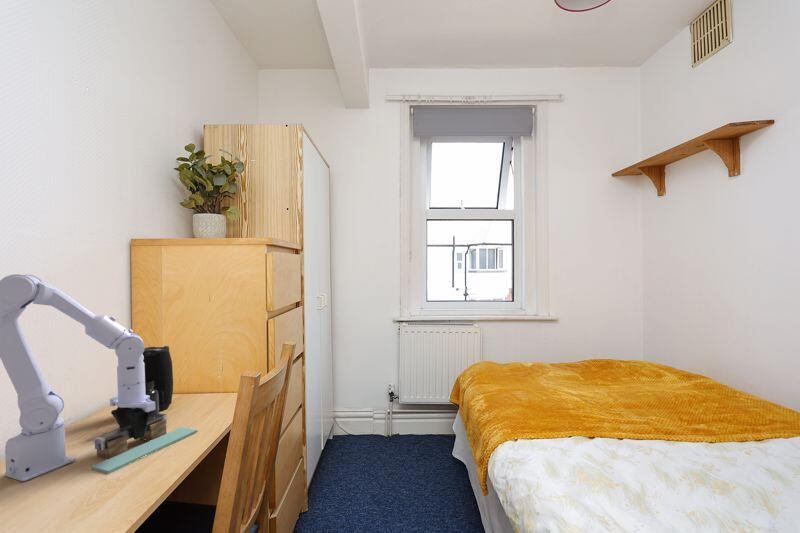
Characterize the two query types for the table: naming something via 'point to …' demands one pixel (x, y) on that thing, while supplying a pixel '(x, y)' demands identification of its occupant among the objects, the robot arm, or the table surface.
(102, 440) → the rail
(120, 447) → the cradle left
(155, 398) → the supplement bottle
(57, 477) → the table surface
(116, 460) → the mat
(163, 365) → the portable speaker
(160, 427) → the cradle right
